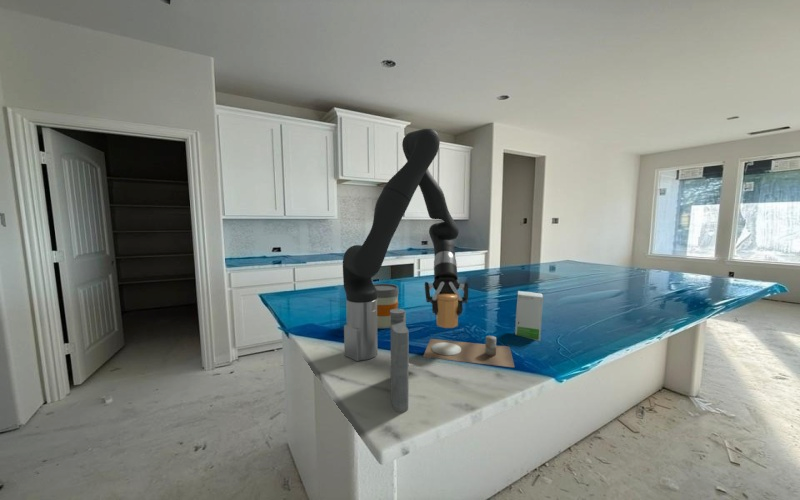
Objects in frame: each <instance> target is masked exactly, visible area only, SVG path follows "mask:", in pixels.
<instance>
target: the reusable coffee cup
mask: <svg viewBox="0 0 800 500" xmlns="http://www.w3.org/2000/svg"><path fill="white" fill-rule="evenodd" d="M373 285H374V287H375V288H376V290H377V329H391V315H390V310H392V309H399V308H398V307H399V300H398V298H399V294H400V292H399V291H400V290H399V286H398V285H397V284H392V283H377V284H376V283H375V284H374V283H373Z"/></svg>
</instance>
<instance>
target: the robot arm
mask: <svg viewBox="0 0 800 500" xmlns="http://www.w3.org/2000/svg"><path fill="white" fill-rule="evenodd" d="M440 140H441V139H440V136H439V134H438V132H437V131H436V130H434V129H432V128H423V129H419V130H414V131H411V132H410V131H409V132H408V133H407V134H406V135H404V137H403V139H402V144H401V145H402V150H403V154H404V157H405V160H406V162H405V164H404V165H403V166H402V167H401V168H400V169H399V170H397V172H396V173H395V174H394V175H392V177H391V178H390V179H389V180H387V182H386V184H385V185H384V187H383V189H382V191H380V194H379V197H378V198H377V200H376V202H375V207H374V210H373V211H374V213H373V220H372V226H371V228H370V231H369V233H368V234H367V237H366V238H365V240H364V242H363V244H362V245H360V244H357V245H355V244H354V245H351V246H350V247H349V248H347V249H346V251H345V252H344V255H343V258H342V276H343V277H342V278H343V280H342V281H343V289H344V292H345V296H346V297H345V298H346V299H345V300H346V301H345V302H346V324H344V325H343V336H344V337H343V340H344V341H343V343H344V349H343V350H344V356H345V357H348V358H349V359H352V360H353V361H356V362H360V361H366V360H367V361H368V360H370V359H373V358H375V357H376V356H377V355H378V328H377V290H376V288H375V287H374V282H373V281H372V280H373V279H372V278H374V276H376V275H377V274H378V272H379V271H380V269H381V267H382V265H383V264H384V263H383V262H384V260H385V258H386V254H387V252H388V249H389V247H390V244H391V241H392V239H393V237H394V235H395V233H396V231H397V230H398V229H397V228H398V227H399V226H400V222H401V221H402V219H403V217H404V215H405V213H406V212H407V209H408V207H409V205H410V203H411V201H412V199H413V196H414V194H415V192H416V190H417V189H418V187H419V189H420V192H421V194H422V196H423V200H424V203H425V206H426V211H427V214H428V216H429V218H430V219H432V220H441V222H437V223H433V224H431V226H429V229H428V234H429V238H430V240H431V241H432V246H433V250H434V255H433V256H434V260H433V277H434V278H433V282H432V283H429V282H428V281H424V293H425V294H424V295H425V300H426V303H431V310H432V311H431V312H432V313H433V314H434V315H435V316H436V315H437V295H438V294H440V293H452V294H456V295H457V299H458V316H461V314H463V304H464V303H465V304H466V303H468V299H469V283H468V282H465V283H460V282H459V279H458V266H457V259H456V251H455V248H456V247H455V244H454V243H453V241H454V240H456V239H457V237H459V233H460V232H459V226H458V225H457V223H456V222H455V221H456V220H454V219H453V217H452V214H451V213H450V211H449V209H448V205H447V201H446V197H445V194H444V191H443V189H442V187H441V186H440V185H439V183H438V182H437V180H436V179H435V178H434V177H433V175H432V173H431V172H430V170H429V167H430V166H431V164H432V163H433V161H434V160H435V158H436V156H437V155H438V153H439V149H440V144H441V143H440ZM452 240H453V241H452ZM432 288H433V289H434V290H435V292H434V294H433V296H431V293H430V291H431V290H432ZM459 288H460V289H461V291H462V292H463V297H462V296H461V295H460V293H459V291H458V290H459Z"/></svg>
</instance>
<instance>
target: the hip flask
mask: <svg viewBox="0 0 800 500" xmlns="http://www.w3.org/2000/svg"><path fill="white" fill-rule="evenodd" d="M390 315H391V327H390V400H391V404H392V407H393V409H394V411H395V412H396V413H405V412H407V411H409V371H410V370H409V364H410V363H409V361H410V359H409V356H410V355H409V352H410V351H409V349H410V348H409V341H410V340H409V339H410V338H409V337H410V336H409V334H410V331H409V328H408V327H407V323H406V321H407V319H406V318H407V312H406V310H405V309H403V308H397V309H392V310H390Z"/></svg>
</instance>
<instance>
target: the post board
mask: <svg viewBox="0 0 800 500" xmlns="http://www.w3.org/2000/svg"><path fill="white" fill-rule="evenodd" d="M422 358H428V359H435V360H436V359H437V360H445V361H452V362H453V361H454V362H463V363H471V364H480V365H488V366H497V367H504V368H515V362H514V359H513V355H512V350H511V347H510V346H508V345H507V346H506V345H497V337H496V336H494V335H486V336H485V343H477V342H476V343H475V342H465V341H458V340H457V341H456V340H447V339H446V340H445V339H437V338H429V341H428V343H427V346H426V347H425V351H424V353H423V356H422Z"/></svg>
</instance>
